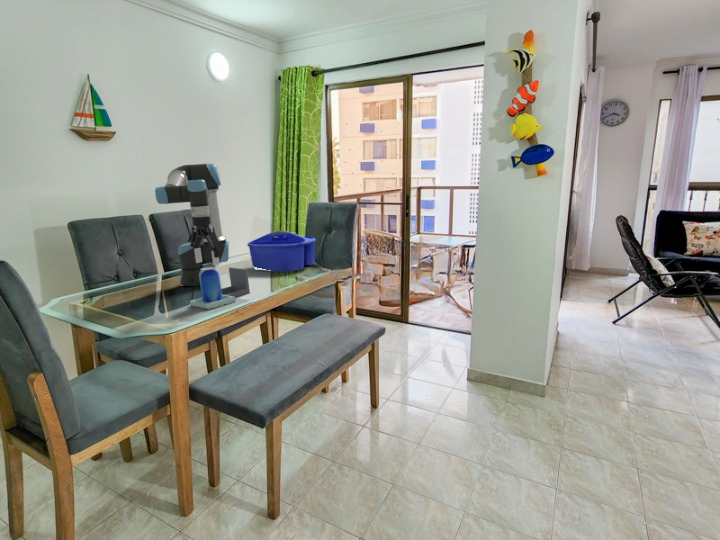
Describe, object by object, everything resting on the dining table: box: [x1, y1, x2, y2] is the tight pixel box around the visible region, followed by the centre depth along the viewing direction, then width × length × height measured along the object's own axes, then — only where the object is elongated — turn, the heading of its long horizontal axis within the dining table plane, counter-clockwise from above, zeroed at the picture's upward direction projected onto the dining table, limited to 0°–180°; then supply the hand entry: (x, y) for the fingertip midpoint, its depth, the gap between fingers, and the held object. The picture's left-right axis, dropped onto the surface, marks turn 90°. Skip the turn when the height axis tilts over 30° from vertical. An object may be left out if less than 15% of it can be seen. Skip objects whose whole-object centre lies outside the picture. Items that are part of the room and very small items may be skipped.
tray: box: [189, 294, 236, 311], centre depth 196 cm, size 14×14×2 cm
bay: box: [221, 267, 251, 298], centre depth 211 cm, size 13×11×12 cm
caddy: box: [246, 230, 316, 273], centre depth 273 cm, size 32×45×23 cm
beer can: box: [199, 266, 222, 304], centre depth 194 cm, size 8×8×16 cm
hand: (207, 263), depth 193 cm, fingers open, 13 cm apart
